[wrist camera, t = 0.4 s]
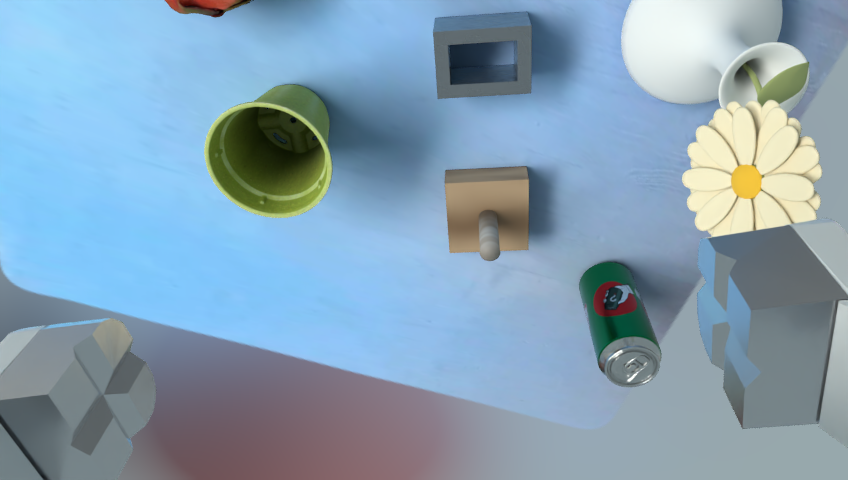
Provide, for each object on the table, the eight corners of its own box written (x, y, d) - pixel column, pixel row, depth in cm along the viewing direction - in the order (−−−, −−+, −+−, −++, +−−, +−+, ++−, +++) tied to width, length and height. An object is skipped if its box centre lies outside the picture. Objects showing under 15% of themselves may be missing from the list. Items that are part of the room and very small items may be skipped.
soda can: (567, 283, 63) (587, 370, 53) (605, 249, 61) (634, 334, 51) (604, 309, 65) (630, 400, 55) (643, 277, 63) (678, 365, 52)
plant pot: (314, 187, 59) (293, 239, 52) (219, 129, 56) (183, 175, 49) (370, 107, 55) (356, 151, 47) (270, 40, 52) (239, 76, 45)
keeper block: (445, 170, 57) (443, 216, 51) (526, 166, 57) (534, 212, 50) (450, 238, 61) (448, 289, 54) (526, 235, 61) (534, 286, 54)
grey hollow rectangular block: (439, 81, 53) (437, 98, 50) (435, 17, 51) (433, 31, 47) (526, 75, 53) (531, 93, 49) (527, 11, 50) (531, 25, 47)
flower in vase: (684, -90, 46) (872, -14, 25) (807, -7, 48) (1074, 125, 27) (574, 71, 52) (649, 240, 31) (688, 137, 55) (829, 334, 34)
